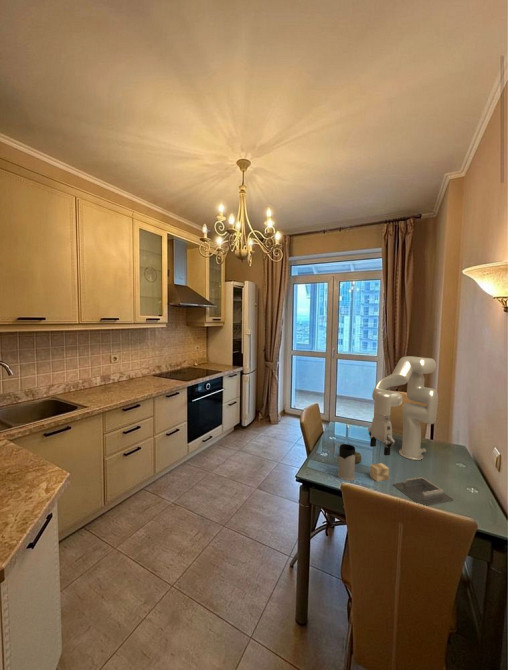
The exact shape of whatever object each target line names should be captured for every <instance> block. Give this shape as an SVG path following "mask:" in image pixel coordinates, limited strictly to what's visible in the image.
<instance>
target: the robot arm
mask: <svg viewBox="0 0 508 670" xmlns="http://www.w3.org/2000/svg"><path fill="white" fill-rule="evenodd" d="M436 369H437V362H436V361H435V359H434V358H430V357H419V356H412V355H411V356H409V355H407V356H402V357H401V358H400V359H399V360H398V362H397V364H396V366H395V367H394V369H393V372H392V373H391V374H389V375H387V376H384V377H383V378H381V379H380V380H379V381H378V382H377V383H376V385H375V386H374V389H373V390H372V395H371V397H372V400H373V401H374V404H373V405H374V407H373V417H372V421H371V426H370V427H368V429H367V431H368V435H369V439H370V442H369V446H370V448H372V447H373V448H374V447H377V440H378V441H380V442H383V445H384V448H383V449H384V450H383V455H384V456H391V449H392V448H393V446H394V444H395V443H396V440H395V439H394V438H393V427H392V422H391V411H392V409H391V408H393V407H394V408H395V407H399V406H401V405H402V404H403V402H404V401H403V399H404V397H403V395H402V394H401V393H399V392H397V391H392V390H389V389H388V388H392V387H397V386H403V385H406V384H407V388H406V398H407V399H408V400H409V401H412V402H405V403H404V404H403V405H402V409H401V413H402V442H401V443H402V444H401V448H400V449H399V450H398V453H399V455H400V456H401V457H403V458H406V459H409V460H413V461H421V459H422V460H424V459H423V458H424V455H423V453H425V452H427V448H421V443H422V442H421V440H422V426H421V424H420V423H424V424H427V425H434V424H435V423H436V420H437V416H438V408H439V407H438V404H439V394H438V391H437V390H436V389H435V388H432V387H425V381H426V379H425V376H424V374H427V375H428V374H432V373H434V372H435V371H436ZM387 389H388V390H387ZM413 402H416V403H413ZM419 403H420V404H419ZM422 404H425V405H422Z"/></svg>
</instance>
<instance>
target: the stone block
mask: <svg viewBox="0 0 508 670" xmlns="http://www.w3.org/2000/svg"><path fill="white" fill-rule="evenodd" d="M361 462H362V454H361V453H360V452H357V451H355V464H358V463H361Z"/></svg>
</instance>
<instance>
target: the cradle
mask: <svg viewBox="0 0 508 670" xmlns="http://www.w3.org/2000/svg"><path fill="white" fill-rule="evenodd" d="M392 486H394V487H395V488H396V489H397V490H399V491H400V492H401V493H402V494H403V495H405V496H407V497H408V498H409V499H411V500H412V501H414V503H416V504H417V503H420V504H423V505H427V506H431V504H433V505H436V504H437V505H438V504H442V503H448V502H451V501H453V502H454V498H453V497H451V496H449V495H447V494H446V493H445V492H444V489H443V488H441V487H439V486H438V485H436V484H434V482H431V481H429V480H428V479H426V478H424V477H423V476H420V477H419V476H418V477H414V478H413V477H411V478H406V479H403V481H402V482H397V483H392ZM427 506H426V507H427Z"/></svg>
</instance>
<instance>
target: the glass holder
mask: <svg viewBox="0 0 508 670" xmlns="http://www.w3.org/2000/svg"><path fill="white" fill-rule="evenodd" d="M336 445H337V446H338V452H339V454H338V455H337V452H336ZM333 452H334V456H335V459H336V461H337V463H338V469H337V470H338V471H337V474H338V475H337V474H336V475H337V477H338V476H339V477H340V479H341V478H343V479H344V481H346V480H347V481H348V482H351V481H354V480H356V474H355V472H356V471H355V470H356V463H355V452H356V447H355V446H354V445H352V444H347V443H342V444H339V443H338V442H335V443H334V445H333ZM339 477H338V478H339ZM343 479H342V480H343ZM347 481H346V482H347Z"/></svg>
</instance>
